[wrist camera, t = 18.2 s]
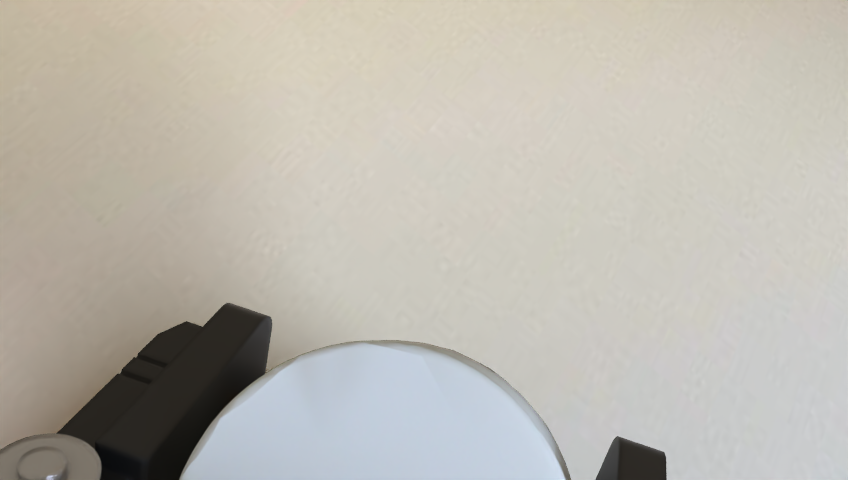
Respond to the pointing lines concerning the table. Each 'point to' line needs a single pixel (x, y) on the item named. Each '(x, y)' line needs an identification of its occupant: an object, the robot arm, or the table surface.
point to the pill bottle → (378, 421)
